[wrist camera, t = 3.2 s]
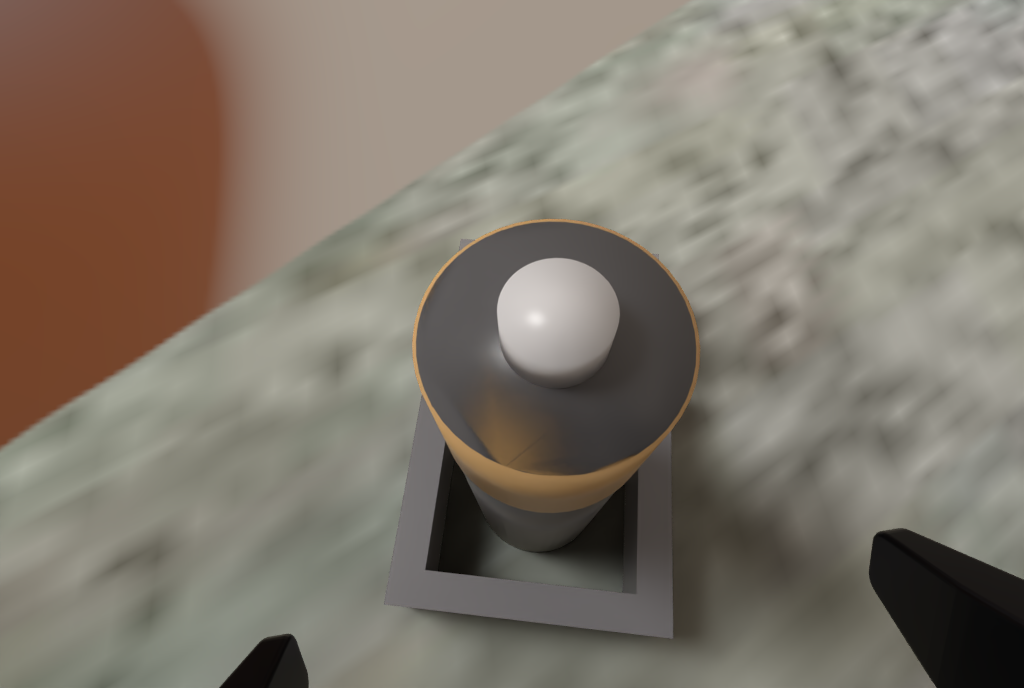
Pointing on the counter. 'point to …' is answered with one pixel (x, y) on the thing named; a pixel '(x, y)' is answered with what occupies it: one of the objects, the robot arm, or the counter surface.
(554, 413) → the battery cell
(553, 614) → the tester
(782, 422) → the counter surface
